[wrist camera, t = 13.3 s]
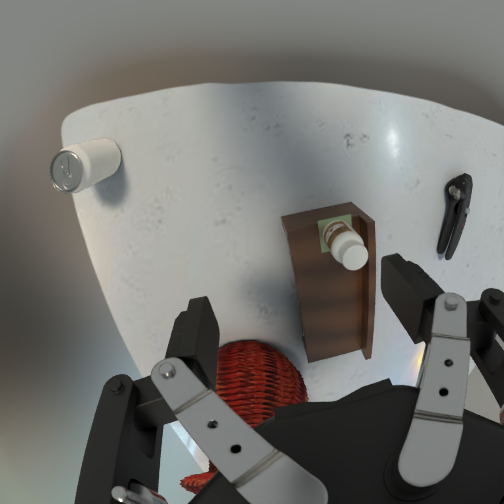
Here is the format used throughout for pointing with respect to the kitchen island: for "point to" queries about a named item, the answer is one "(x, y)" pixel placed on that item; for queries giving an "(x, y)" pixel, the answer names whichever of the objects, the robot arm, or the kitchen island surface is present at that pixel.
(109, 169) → the can
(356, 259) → the pill bottle
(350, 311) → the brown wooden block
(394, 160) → the kitchen island surface
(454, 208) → the can opener
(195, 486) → the vase
